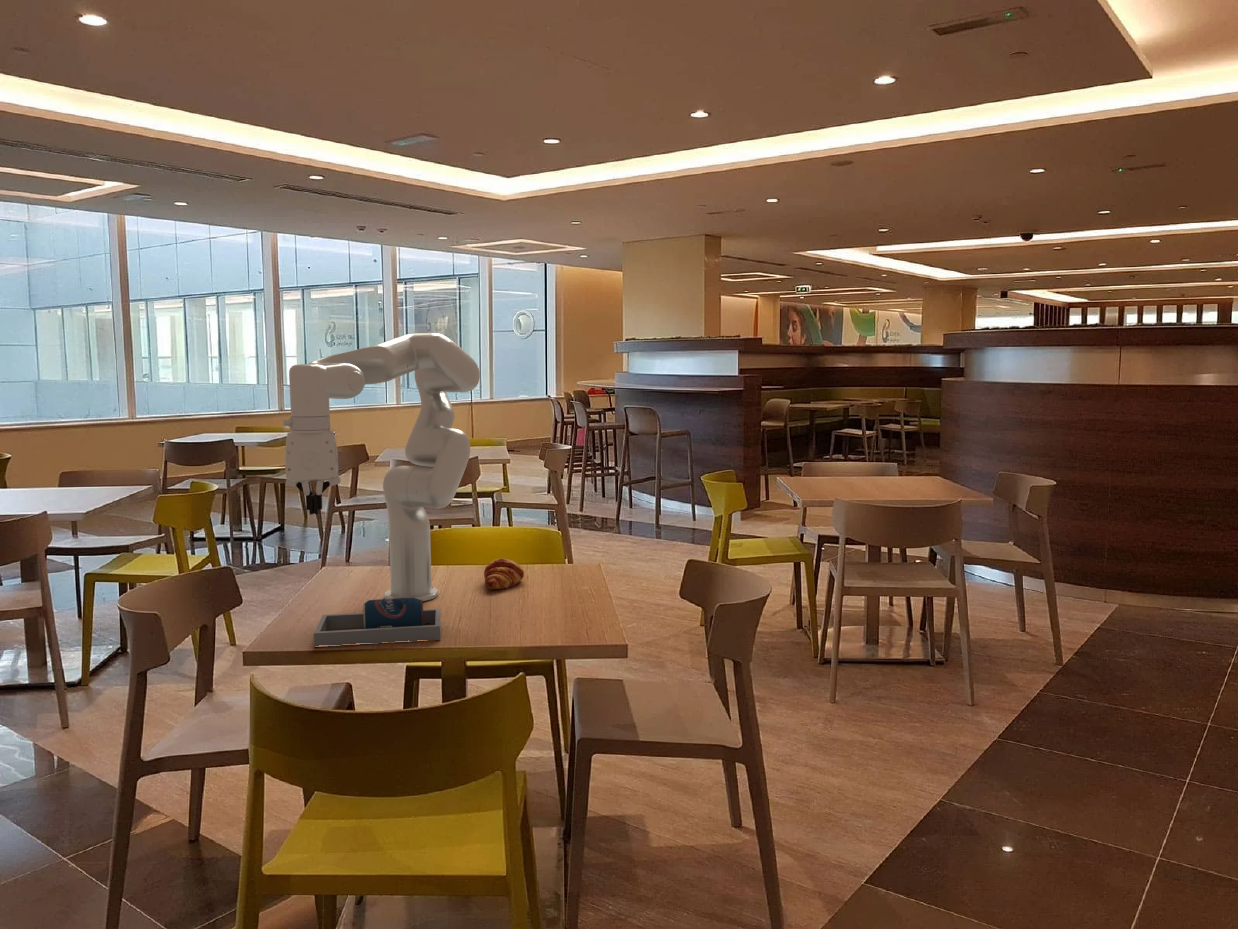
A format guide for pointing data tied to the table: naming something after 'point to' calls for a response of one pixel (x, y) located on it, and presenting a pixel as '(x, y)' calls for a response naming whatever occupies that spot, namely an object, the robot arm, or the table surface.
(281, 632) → the table surface
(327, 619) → the plastic frame
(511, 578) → the croissant
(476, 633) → the table surface
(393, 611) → the soda can
